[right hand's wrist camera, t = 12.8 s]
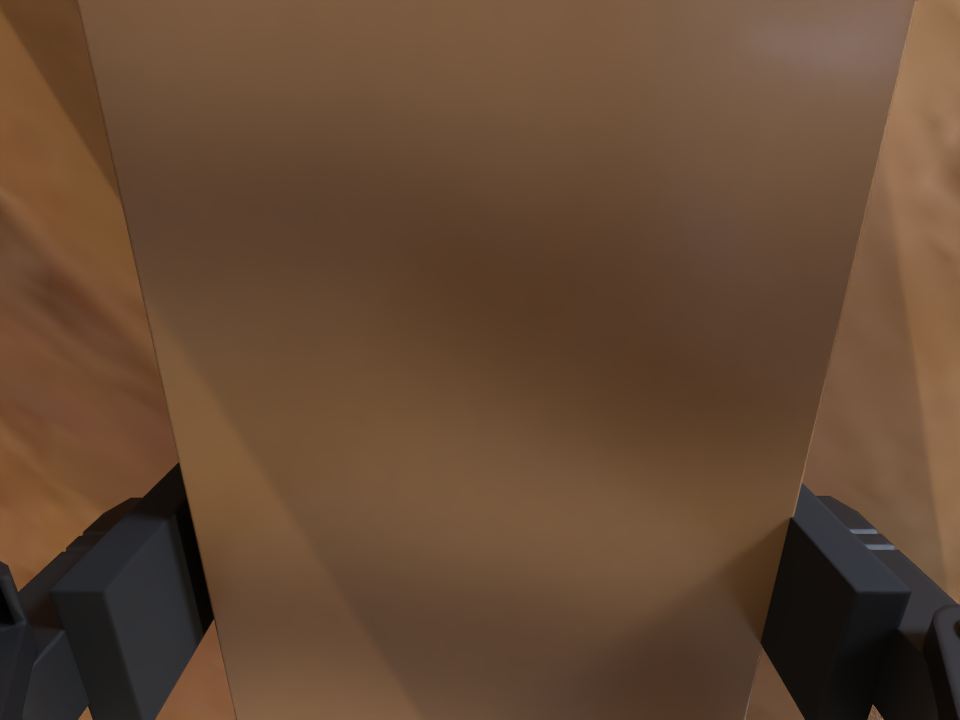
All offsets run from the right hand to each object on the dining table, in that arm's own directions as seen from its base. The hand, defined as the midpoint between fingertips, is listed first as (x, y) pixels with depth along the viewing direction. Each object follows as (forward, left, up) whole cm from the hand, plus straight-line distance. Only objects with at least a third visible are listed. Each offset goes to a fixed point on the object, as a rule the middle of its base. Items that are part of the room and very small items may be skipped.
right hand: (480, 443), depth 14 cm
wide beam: (-8, -25, -2) cm, 27 cm away
